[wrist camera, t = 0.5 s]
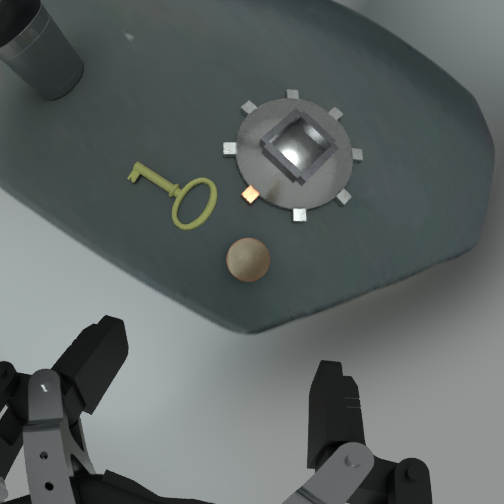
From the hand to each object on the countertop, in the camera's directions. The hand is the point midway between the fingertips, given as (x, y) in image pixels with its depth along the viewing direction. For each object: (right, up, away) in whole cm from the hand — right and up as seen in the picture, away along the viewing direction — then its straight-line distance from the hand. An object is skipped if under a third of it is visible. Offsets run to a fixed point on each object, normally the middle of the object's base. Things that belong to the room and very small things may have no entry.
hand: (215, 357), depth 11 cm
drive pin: (0, +3, +27) cm, 27 cm away
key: (-9, +12, +27) cm, 31 cm away
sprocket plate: (+7, +17, +28) cm, 34 cm away
